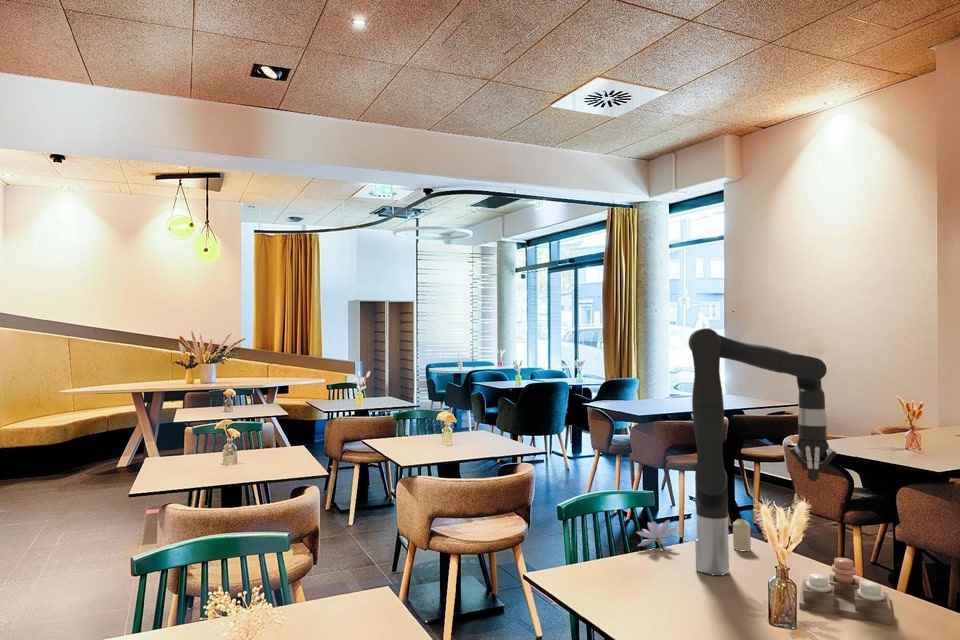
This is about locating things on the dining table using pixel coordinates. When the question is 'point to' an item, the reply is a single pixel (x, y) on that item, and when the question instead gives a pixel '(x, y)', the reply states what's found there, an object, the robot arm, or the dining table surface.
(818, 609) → the mount block
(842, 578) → the middle knob
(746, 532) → the candle
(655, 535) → the water lily
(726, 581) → the dining table surface
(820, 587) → the knob
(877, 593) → the knob
